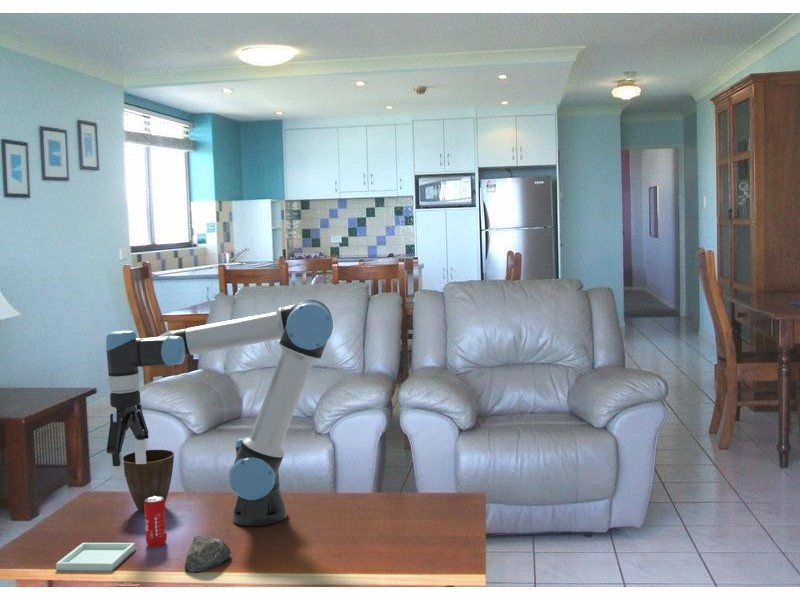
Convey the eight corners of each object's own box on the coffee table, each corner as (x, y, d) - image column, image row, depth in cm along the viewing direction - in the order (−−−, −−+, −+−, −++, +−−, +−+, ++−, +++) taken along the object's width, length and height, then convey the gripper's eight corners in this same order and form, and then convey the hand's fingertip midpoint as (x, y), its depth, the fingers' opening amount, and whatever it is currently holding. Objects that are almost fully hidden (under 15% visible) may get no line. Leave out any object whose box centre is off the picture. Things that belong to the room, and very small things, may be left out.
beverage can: (161, 548, 221) (158, 502, 220) (142, 547, 222) (140, 501, 221) (170, 541, 226) (168, 496, 225) (152, 540, 227) (149, 495, 226)
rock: (203, 551, 217) (202, 526, 217) (236, 553, 216) (235, 528, 215) (181, 573, 204) (180, 546, 203) (216, 574, 202) (215, 547, 202)
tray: (135, 549, 220) (135, 542, 220) (112, 570, 206) (112, 563, 206) (83, 549, 221) (82, 542, 221) (56, 570, 208) (56, 563, 207)
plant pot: (168, 516, 246) (165, 461, 245) (116, 517, 246) (113, 463, 245) (182, 500, 261) (180, 448, 260) (133, 502, 261) (130, 450, 260)
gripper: (131, 382, 236) (136, 458, 238) (88, 400, 212) (94, 484, 213) (157, 381, 236) (162, 457, 237) (117, 399, 211) (123, 484, 212)
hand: (130, 470), depth 225 cm, fingers open, 13 cm apart
